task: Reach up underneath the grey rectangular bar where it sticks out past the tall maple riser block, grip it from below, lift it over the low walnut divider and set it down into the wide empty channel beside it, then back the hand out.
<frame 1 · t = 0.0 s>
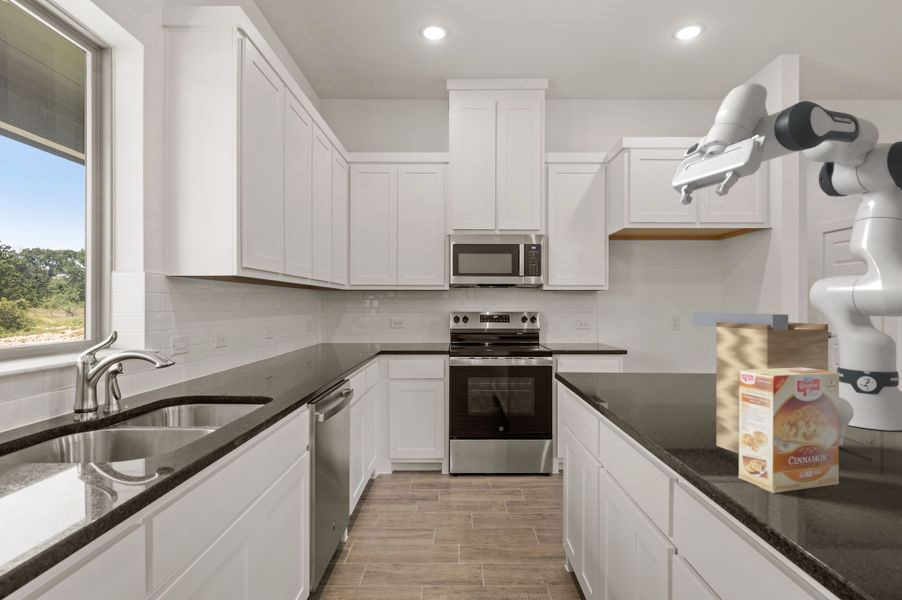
hand: (702, 198, 102), 54 cm above the worktop, tool tilted 30°, fingers open, 8 cm apart
coffeecake box: (788, 482, 81), on the worktop
riser block: (770, 451, 98), on the worktop
lightbulb: (835, 448, 100), on the worktop
grey rectangular bar: (736, 327, 100), point 26 cm above the worktop, touching riser block
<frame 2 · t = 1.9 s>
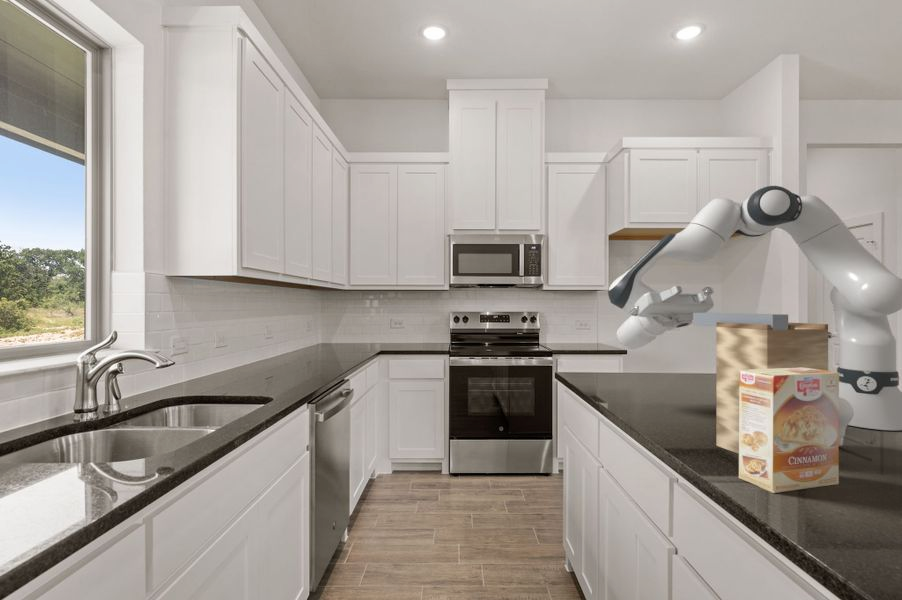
hand: (695, 288, 112), 35 cm above the worktop, tool pointing upward, fingers open, 8 cm apart
nothing on the worktop moved.
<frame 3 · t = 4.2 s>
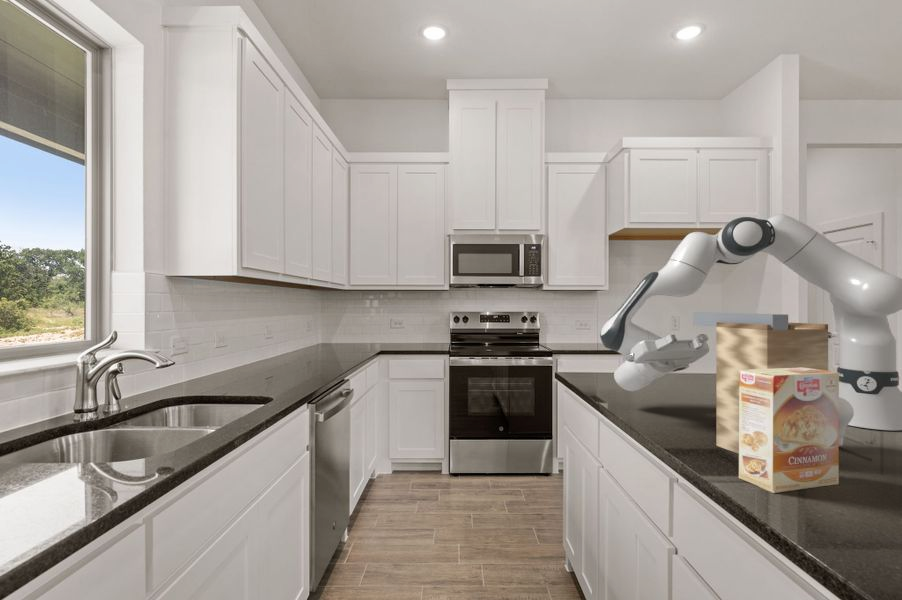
hand: (689, 336, 113), 23 cm above the worktop, tool pointing upward, fingers open, 8 cm apart
nothing on the worktop moved.
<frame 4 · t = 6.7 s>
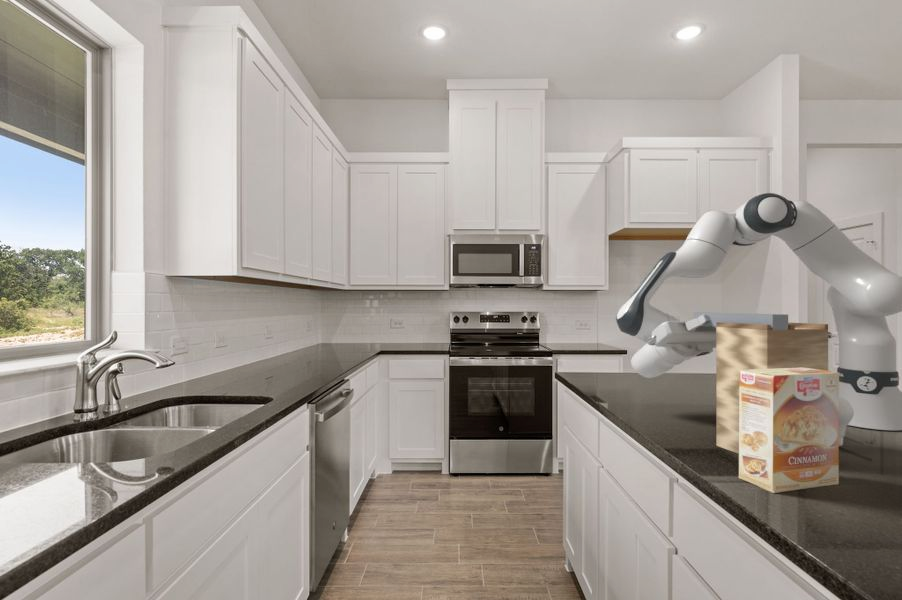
hand: (716, 317, 105), 28 cm above the worktop, tool pointing upward, fingers closed on grey rectangular bar, 4 cm apart
grey rectangular bar: (736, 327, 100), point 26 cm above the worktop, touching gripper, riser block
everything else where it was.
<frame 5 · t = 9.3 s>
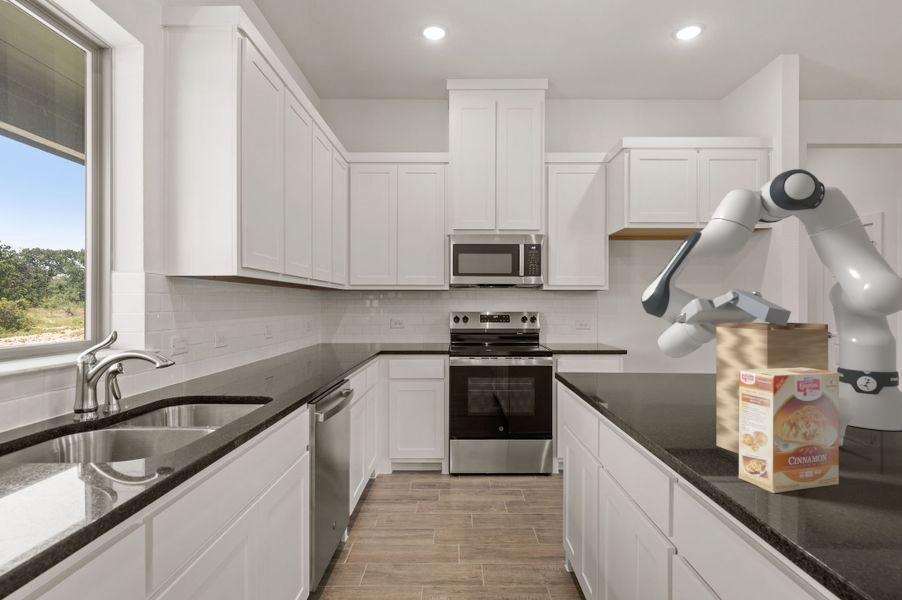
hand: (747, 294, 107), 33 cm above the worktop, tool pointing upward, fingers closed on grey rectangular bar, 5 cm apart
grey rectangular bar: (753, 311, 101), point 29 cm above the worktop, tilted 18°, touching gripper
everything else where it was.
when the fingers open (29 cm above the worktop, at t = 12.1 s): grey rectangular bar stays where it is, resting on riser block.
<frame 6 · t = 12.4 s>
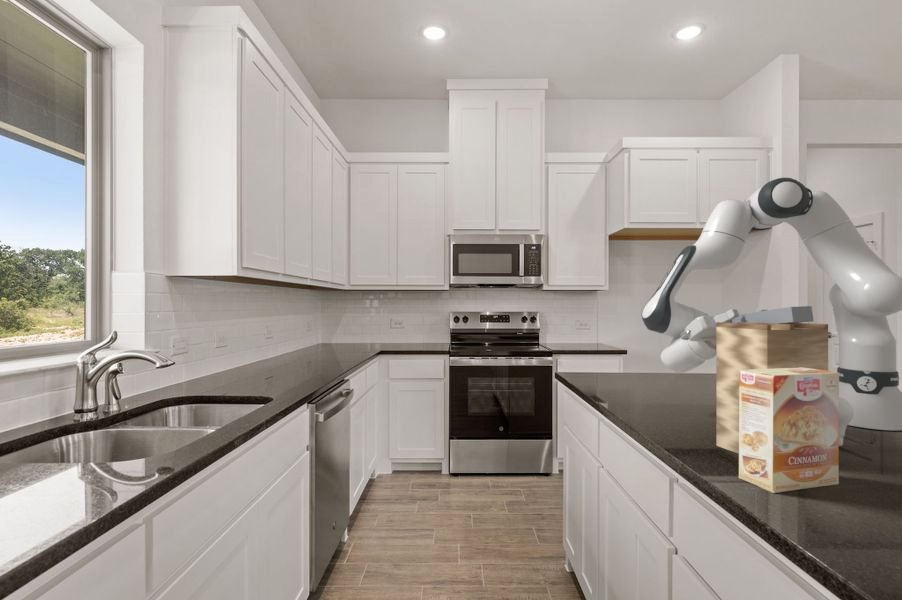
hand: (751, 312, 107), 29 cm above the worktop, tool pointing upward, fingers open, 8 cm apart
grey rectangular bar: (768, 325, 101), point 26 cm above the worktop, tilted 7°, touching riser block
everything else where it was.
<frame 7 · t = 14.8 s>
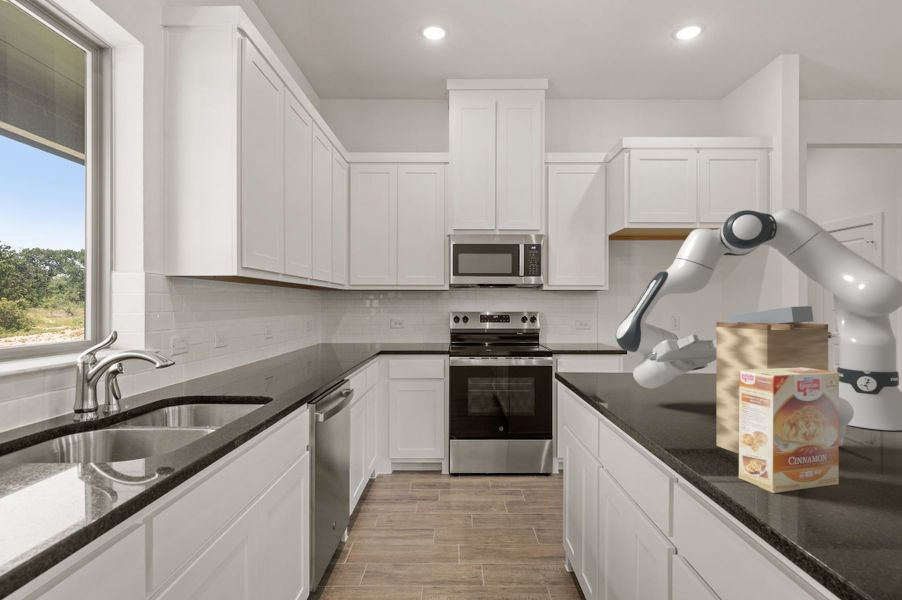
hand: (710, 337, 118), 23 cm above the worktop, tool pointing upward, fingers open, 8 cm apart
nothing on the worktop moved.
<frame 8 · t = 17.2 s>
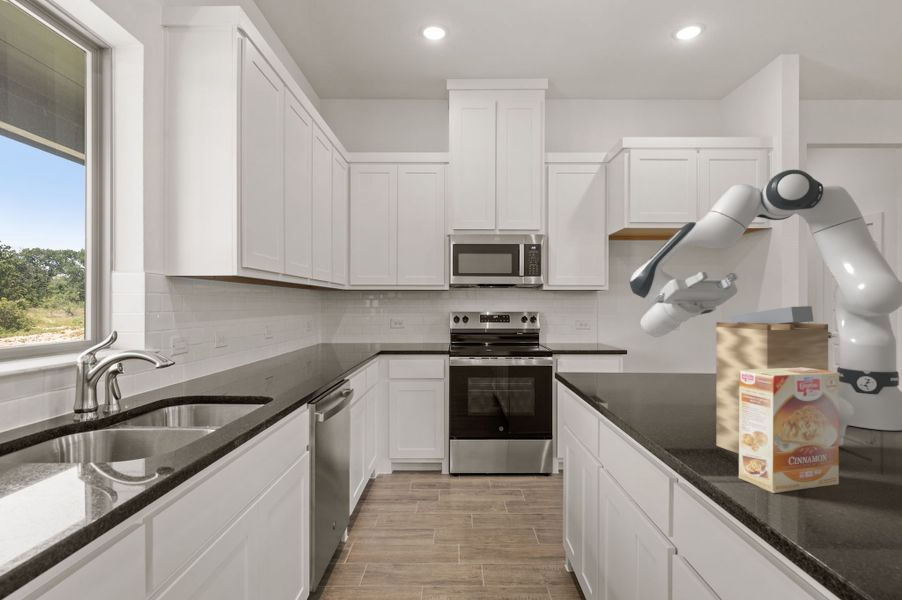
hand: (719, 274, 116), 38 cm above the worktop, tool pointing upward, fingers open, 8 cm apart
nothing on the worktop moved.
at the end: grey rectangular bar inside the target area (1.2 cm from its centre), point 26.5 cm above the worktop; grey rectangular bar tilted 7°; the gripper is holding nothing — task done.
